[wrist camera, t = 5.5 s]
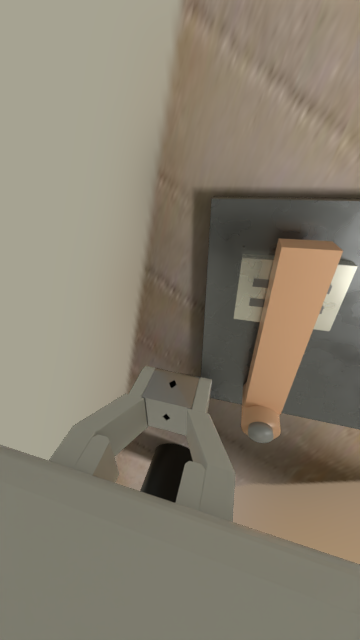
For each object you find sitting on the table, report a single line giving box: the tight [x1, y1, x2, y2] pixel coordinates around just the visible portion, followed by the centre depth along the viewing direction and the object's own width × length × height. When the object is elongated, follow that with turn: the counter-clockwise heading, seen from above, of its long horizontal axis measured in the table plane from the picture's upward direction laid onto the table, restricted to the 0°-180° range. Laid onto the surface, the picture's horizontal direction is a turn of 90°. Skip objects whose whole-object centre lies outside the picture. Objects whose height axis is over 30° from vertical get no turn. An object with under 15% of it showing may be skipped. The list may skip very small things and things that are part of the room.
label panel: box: [201, 196, 360, 429], centre depth 18 cm, size 24×20×3 cm
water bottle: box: [141, 444, 193, 503], centre depth 29 cm, size 10×10×23 cm
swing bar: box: [241, 238, 343, 443], centre depth 17 cm, size 17×3×5 cm, turn 0°
